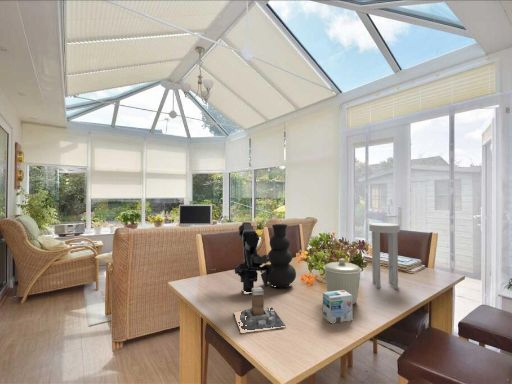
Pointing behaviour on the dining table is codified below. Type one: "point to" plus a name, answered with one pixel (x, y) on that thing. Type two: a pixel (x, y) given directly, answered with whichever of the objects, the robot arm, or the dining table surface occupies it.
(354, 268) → the canister
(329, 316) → the light bulb box
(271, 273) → the vase
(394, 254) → the stool
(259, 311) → the tan tall block
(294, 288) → the dining table surface
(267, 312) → the grey square base plate
